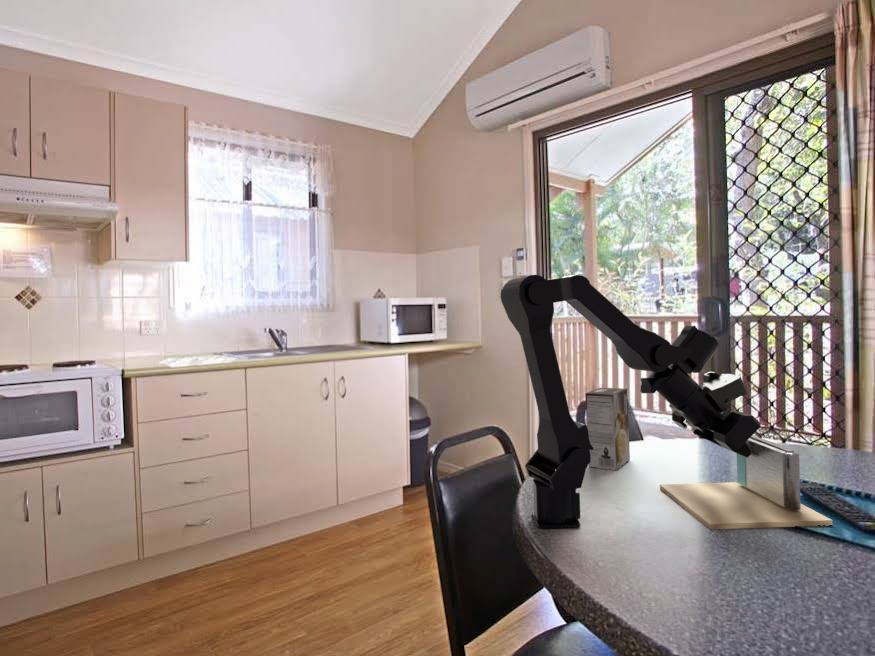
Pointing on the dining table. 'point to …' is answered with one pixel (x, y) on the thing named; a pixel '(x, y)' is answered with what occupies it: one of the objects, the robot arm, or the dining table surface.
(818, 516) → the base
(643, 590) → the dining table surface
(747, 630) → the dining table surface
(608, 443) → the coffee box
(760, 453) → the jaw
